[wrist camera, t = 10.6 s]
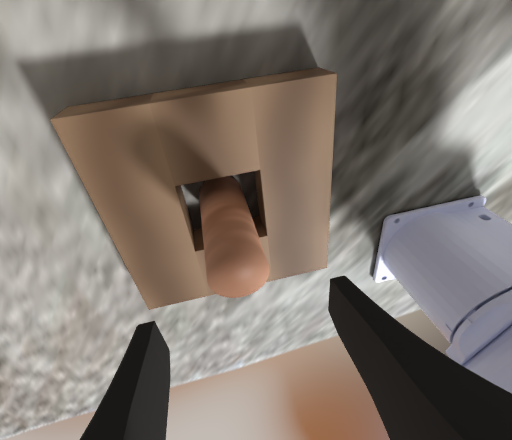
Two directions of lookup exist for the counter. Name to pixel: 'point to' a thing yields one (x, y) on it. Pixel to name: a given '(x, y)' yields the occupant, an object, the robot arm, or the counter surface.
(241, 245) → the terracotta peg
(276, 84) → the walnut socket plate
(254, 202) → the counter surface
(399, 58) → the counter surface
